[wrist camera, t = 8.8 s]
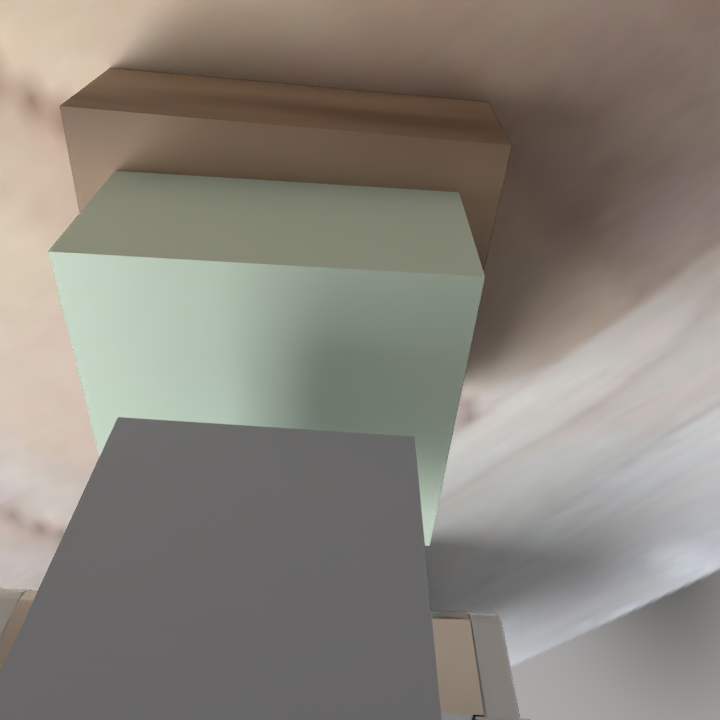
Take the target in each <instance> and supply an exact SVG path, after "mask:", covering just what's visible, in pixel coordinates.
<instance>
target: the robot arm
mask: <svg viewBox="0 0 720 720" xmlns="http://www.w3.org/2000/svg"><path fill="white" fill-rule="evenodd" d="M37 592H38V591H32V590H21V589H0V673H1V670H2V668H3V666H4V664H5V662H6V659H7V657H8V655H9V653H10V651H11V649H12V646H13V644H14V642H15V640H16V638H17V636H18V633H19V631H20V629H21V627H22V625H23V622H24V620H25V618H26V616H27V614H28V612H29V609H30V607H31V605H32V603H33V601H34V599H35V596H36V594H37ZM431 615H432V625H433V636H434V646H435V656H436V667H437V677H438V688H439V698H440V709H441V719H442V720H530V719H523V718H522V719H521V718H520V714H519V708H518V703H517V698H516V693H515V688H514V683H513V677H512V673H511V667H510V662H509V657H508V652H507V646H506V641H505V636H504V631H503V626H502V622H501V620H500V618H499V617H498V615H496V614H486V613H466V612H451V611H431Z"/></svg>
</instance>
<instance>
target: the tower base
mask: <svg viewBox="0 0 720 720" xmlns="http://www.w3.org/2000/svg"><path fill="white" fill-rule="evenodd" d="M60 110H61V116H62V121H63V127H64V132H65V137H66V143H67V148H68V153H69V159H70V164H71V169H72V175H73V180H74V185H75V191H76V196H77V201H78V207H79V212H81V211H82V210H83V209H84V208H85V206H86V205H87V204H88V203H89V202H90V200H91V199H92V198H93V197H94V195H95V194H96V193H97V192H98V191H99V189H100V188H101V187H102V186H103V185H104V183H105V182H106V181H107V180H108V179H109V177H110V176H111V175H112V174H113V173H114V171H128V172H144V173H160V174H176V175H192V176H208V177H224V178H240V179H256V180H272V181H287V182H303V183H319V184H335V185H351V186H367V187H383V188H399V189H415V190H431V191H447V192H459V194H460V197H461V200H462V203H463V207H464V210H465V213H466V217H467V220H468V223H469V226H470V230H471V233H472V236H473V239H474V243H475V246H476V249H477V252H478V256H479V259H480V262H481V265H482V269H483V271H484V267H485V262H486V258H487V253H488V249H489V245H490V240H491V236H492V231H493V227H494V222H495V218H496V214H497V209H498V205H499V200H500V196H501V191H502V187H503V183H504V178H505V174H506V169H507V165H508V160H509V156H510V152H511V147H512V145H511V143H510V141H509V139H508V138H507V136H506V134H505V132H504V130H503V129H502V127H501V125H500V123H499V121H498V119H497V118H496V116H495V114H494V112H493V110H492V109H491V107H490V105H489V103H488V102H483V101H472V100H461V99H450V98H439V97H428V96H417V95H406V94H394V93H383V92H372V91H361V90H350V89H339V88H328V87H317V86H305V85H294V84H283V83H272V82H261V81H250V80H239V79H228V78H216V77H205V76H194V75H183V74H172V73H161V72H150V71H139V70H127V69H116V68H109V69H108V70H107V71H105V72H104V73H103V74H101V75H100V76H99V77H97V78H96V79H95V80H94V81H92V82H91V83H90V84H88V85H87V86H86V87H84V88H83V89H82V90H80V91H79V92H78V93H76V94H75V95H74V96H72V97H71V98H70V99H68V100H67V101H66V102H64V103H63V104H62V105H60Z"/></svg>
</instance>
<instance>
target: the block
mask: <svg viewBox="0 0 720 720" xmlns="http://www.w3.org/2000/svg"><path fill="white" fill-rule="evenodd" d="M0 720H442V719H441V709H440V698H439V688H438V677H437V667H436V656H435V646H434V636H433V625H432V615H431V604H430V594H429V583H428V573H427V562H426V552H425V541H424V531H423V521H422V510H421V500H420V489H419V479H418V468H417V458H416V447H415V437H414V436H399V435H384V434H369V433H353V432H338V431H323V430H308V429H292V428H277V427H262V426H246V425H231V424H216V423H200V422H185V421H170V420H155V419H139V418H124V417H118V418H117V420H116V422H115V424H114V427H113V429H112V431H111V433H110V435H109V438H108V440H107V442H106V444H105V446H104V448H103V451H102V453H101V455H100V457H99V459H98V461H97V464H96V466H95V468H94V470H93V472H92V475H91V477H90V479H89V481H88V483H87V485H86V488H85V490H84V492H83V494H82V496H81V498H80V501H79V503H78V505H77V507H76V509H75V512H74V514H73V516H72V518H71V520H70V522H69V525H68V527H67V529H66V531H65V533H64V535H63V538H62V540H61V542H60V544H59V546H58V548H57V551H56V553H55V555H54V557H53V559H52V562H51V564H50V566H49V568H48V570H47V572H46V575H45V577H44V579H43V581H42V583H41V585H40V588H39V590H38V592H37V594H36V596H35V599H34V601H33V603H32V605H31V607H30V609H29V612H28V614H27V616H26V618H25V620H24V622H23V625H22V627H21V629H20V631H19V633H18V636H17V638H16V640H15V642H14V644H13V646H12V649H11V651H10V653H9V655H8V657H7V659H6V662H5V664H4V666H3V668H2V670H1V673H0Z"/></svg>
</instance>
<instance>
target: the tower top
mask: <svg viewBox="0 0 720 720" xmlns="http://www.w3.org/2000/svg"><path fill="white" fill-rule="evenodd" d="M48 254H49V258H50V262H51V266H52V270H53V274H54V278H55V282H56V286H57V290H58V294H59V298H60V302H61V306H62V310H63V314H64V318H65V322H66V326H67V330H68V334H69V338H70V342H71V346H72V350H73V354H74V358H75V362H76V366H77V370H78V374H79V378H80V382H81V386H82V390H83V394H84V398H85V402H86V406H87V410H88V414H89V418H90V422H91V426H92V430H93V434H94V438H95V442H96V446H97V450H98V454H99V457H100V455H101V453H102V451H103V448H104V446H105V444H106V442H107V440H108V438H109V435H110V433H111V431H112V429H113V427H114V424H115V422H116V420H117V418H118V417H124V418H139V419H155V420H170V421H185V422H200V423H216V424H231V425H246V426H262V427H277V428H292V429H308V430H323V431H338V432H353V433H369V434H384V435H399V436H414V437H415V447H416V458H417V468H418V479H419V489H420V500H421V510H422V521H423V531H424V541H425V546H430V541H431V536H432V532H433V527H434V522H435V517H436V512H437V507H438V502H439V498H440V493H441V488H442V483H443V478H444V473H445V469H446V464H447V459H448V454H449V449H450V444H451V439H452V435H453V430H454V425H455V420H456V415H457V410H458V406H459V401H460V396H461V391H462V386H463V381H464V376H465V372H466V367H467V362H468V357H469V352H470V347H471V343H472V338H473V333H474V328H475V323H476V318H477V313H478V309H479V304H480V299H481V294H482V289H483V284H484V280H485V275H484V272H483V269H482V265H481V262H480V259H479V256H478V252H477V249H476V246H475V243H474V239H473V236H472V233H471V230H470V226H469V223H468V220H467V217H466V213H465V210H464V207H463V203H462V200H461V197H460V194H459V192H447V191H431V190H415V189H399V188H383V187H367V186H351V185H335V184H319V183H303V182H287V181H272V180H256V179H240V178H224V177H208V176H192V175H176V174H160V173H144V172H128V171H114V173H113V174H112V175H111V176H110V177H109V179H108V180H107V181H106V182H105V183H104V185H103V186H102V187H101V188H100V189H99V191H98V192H97V193H96V194H95V195H94V197H93V198H92V199H91V200H90V202H89V203H88V204H87V205H86V206H85V208H84V209H83V210H82V211H81V212H80V214H79V215H78V216H77V217H76V218H75V220H74V221H73V222H72V223H71V224H70V226H69V227H68V228H67V229H66V230H65V232H64V233H63V234H62V235H61V236H60V238H59V239H58V240H57V241H56V242H55V244H54V245H53V246H52V247H51V248H50V250H49V251H48Z"/></svg>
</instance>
